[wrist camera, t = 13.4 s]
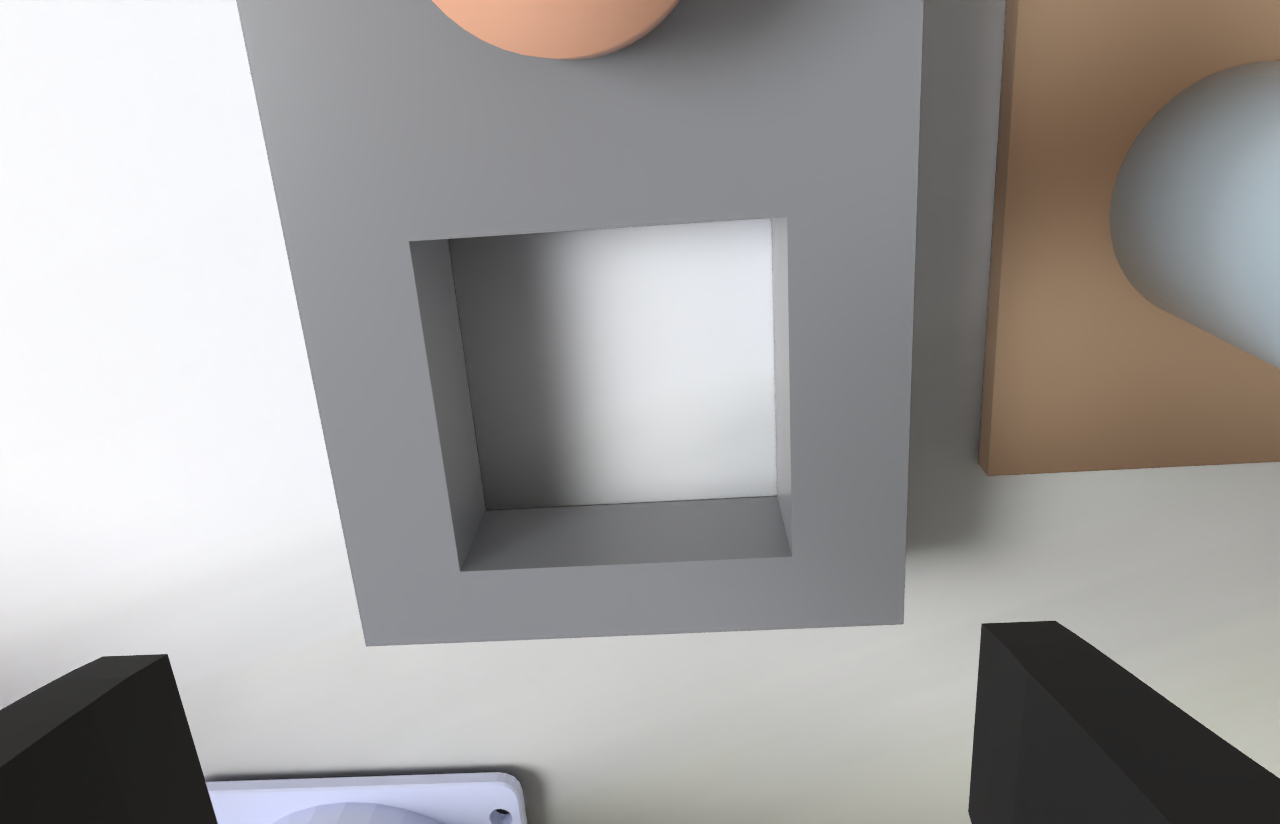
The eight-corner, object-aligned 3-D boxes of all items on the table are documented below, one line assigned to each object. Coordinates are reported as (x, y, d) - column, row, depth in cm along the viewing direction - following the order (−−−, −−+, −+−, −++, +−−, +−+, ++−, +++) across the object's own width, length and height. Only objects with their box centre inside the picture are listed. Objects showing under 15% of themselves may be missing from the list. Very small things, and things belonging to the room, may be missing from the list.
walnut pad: (1395, 442, 18) (1419, 454, 17) (977, 463, 18) (988, 476, 18) (1529, -144, 15) (1563, -154, 14) (1012, -102, 15) (1025, -108, 14)
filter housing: (875, 556, 19) (903, 623, 17) (402, 578, 20) (366, 646, 17) (894, -394, 14) (939, -490, 11) (239, -328, 14) (154, -407, 12)
